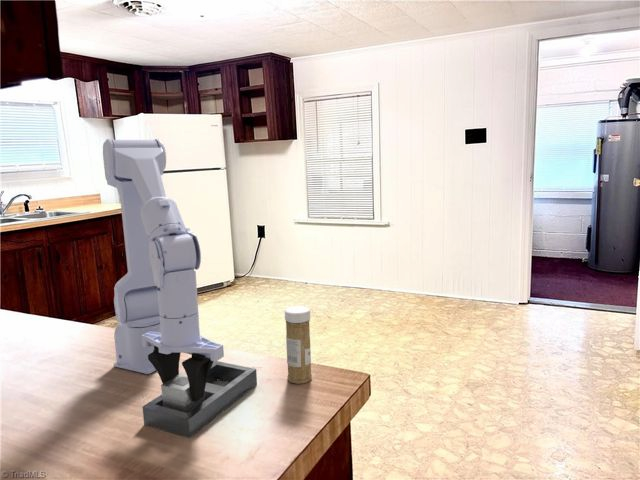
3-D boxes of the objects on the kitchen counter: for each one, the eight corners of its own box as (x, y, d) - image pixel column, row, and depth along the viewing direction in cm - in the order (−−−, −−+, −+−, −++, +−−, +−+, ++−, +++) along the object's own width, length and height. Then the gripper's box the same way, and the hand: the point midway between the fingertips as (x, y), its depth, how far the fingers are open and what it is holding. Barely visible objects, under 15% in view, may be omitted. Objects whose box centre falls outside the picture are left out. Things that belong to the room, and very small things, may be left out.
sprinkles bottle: (316, 380, 87) (315, 309, 85) (295, 387, 85) (292, 314, 82) (303, 371, 91) (301, 303, 89) (282, 377, 88) (280, 308, 86)
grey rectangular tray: (144, 424, 74) (142, 406, 73) (216, 375, 90) (215, 360, 89) (190, 438, 70) (188, 419, 69) (257, 384, 86) (256, 369, 85)
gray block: (163, 411, 74) (161, 384, 73) (183, 398, 78) (181, 372, 77) (186, 418, 72) (184, 390, 71) (205, 403, 76) (203, 377, 75)
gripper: (123, 314, 72) (131, 397, 75) (199, 327, 66) (205, 417, 68) (157, 301, 79) (163, 378, 81) (230, 312, 72) (234, 395, 75)
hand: (185, 395), depth 75 cm, fingers closed on gray block, 4 cm apart
